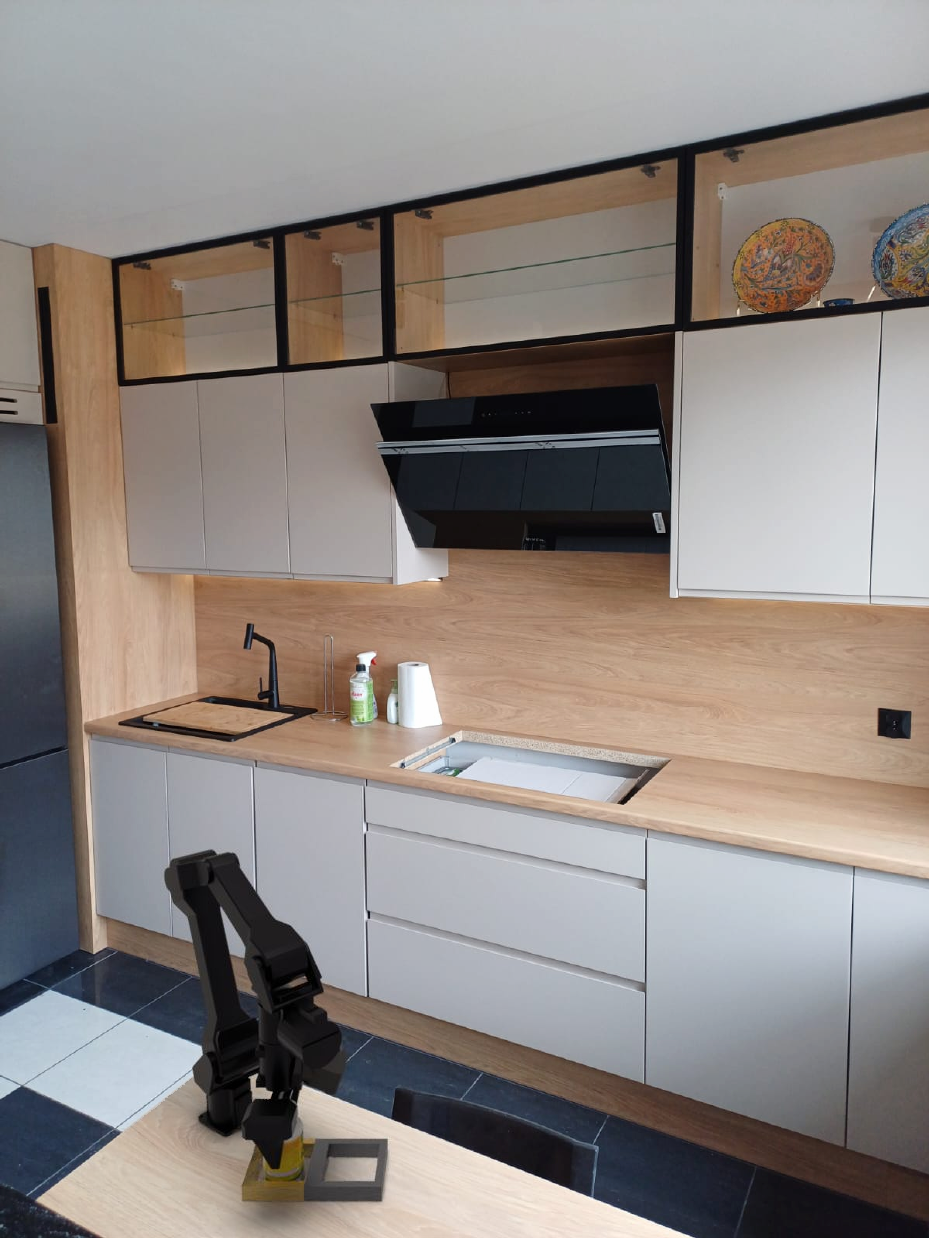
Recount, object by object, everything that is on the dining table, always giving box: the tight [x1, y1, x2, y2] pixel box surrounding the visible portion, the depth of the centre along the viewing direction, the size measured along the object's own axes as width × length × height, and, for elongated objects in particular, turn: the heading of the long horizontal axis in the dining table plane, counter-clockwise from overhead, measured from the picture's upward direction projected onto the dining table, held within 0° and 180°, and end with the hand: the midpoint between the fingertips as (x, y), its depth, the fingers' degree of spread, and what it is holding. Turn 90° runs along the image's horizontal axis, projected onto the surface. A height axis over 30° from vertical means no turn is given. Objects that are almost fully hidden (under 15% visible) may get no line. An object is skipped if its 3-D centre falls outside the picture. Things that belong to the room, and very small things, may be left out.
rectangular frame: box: [240, 1137, 389, 1202], centre depth 117 cm, size 18×9×2 cm, turn 90°
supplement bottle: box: [262, 1100, 305, 1181], centre depth 117 cm, size 5×5×10 cm
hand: (283, 1143), depth 117 cm, fingers open, 9 cm apart
